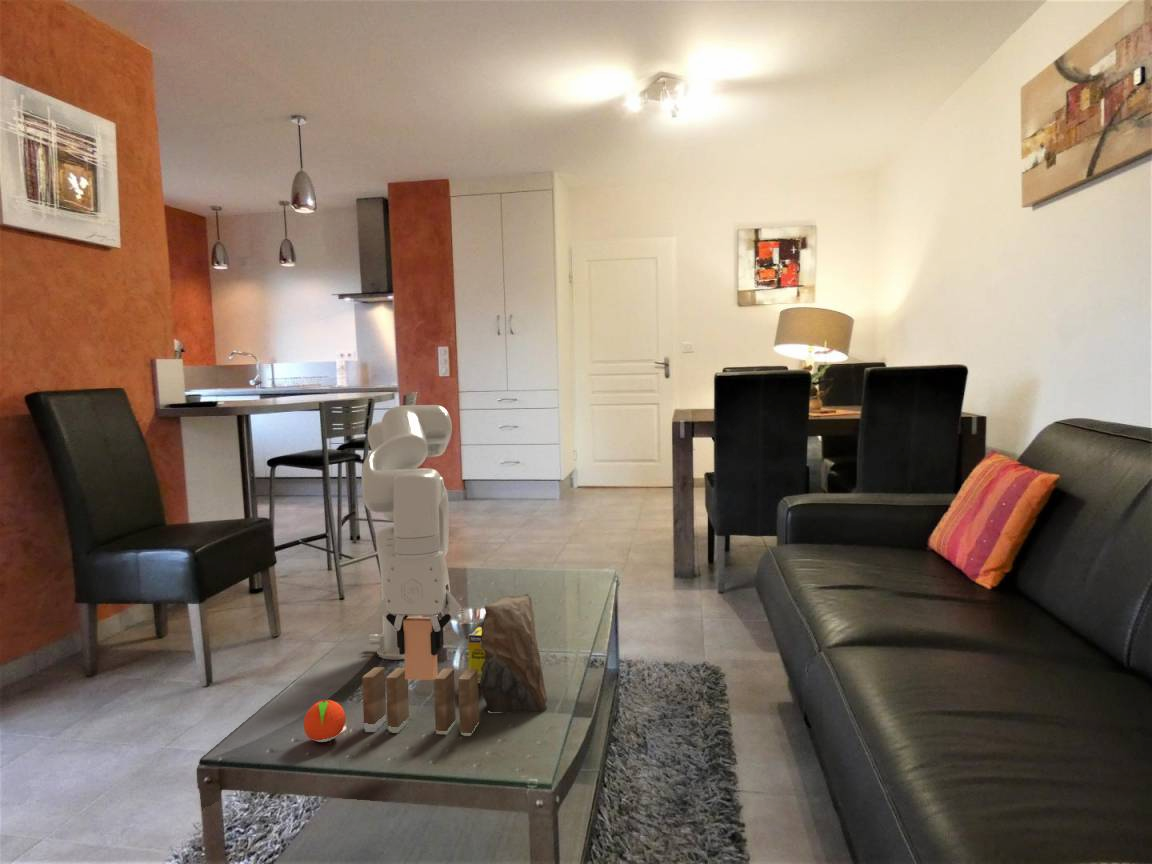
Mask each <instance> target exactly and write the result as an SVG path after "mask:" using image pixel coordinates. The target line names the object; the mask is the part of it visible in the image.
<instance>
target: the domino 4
mask: <svg viewBox="0 0 1152 864" xmlns="http://www.w3.org/2000/svg"><path fill="white" fill-rule="evenodd" d="M455 682H456V681H455V668H443V669H442V670H441V671H440V672H439V673H438V676H437V677H436V678H435V679H434V680H433V686H434V687H433V689H434V693H433V694H434V716H435V717H434V721H435V723H434V724H435V726H434V727H435V731H436V730H438V731H447V730H448V728H449V727H450V726H451V724H452V723H453V722H454V721H455V720H457V719H456V718H457V717H456V716H457V715H456V690H455V689H456V688H455V687H456V685H455Z"/></svg>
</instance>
